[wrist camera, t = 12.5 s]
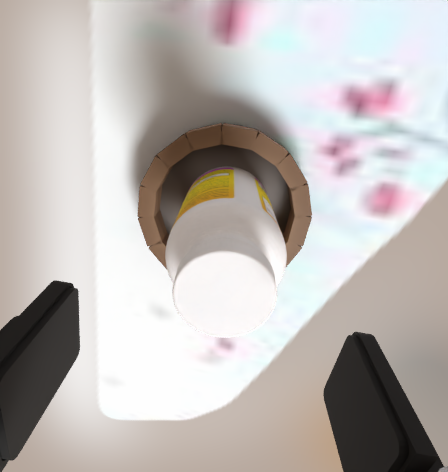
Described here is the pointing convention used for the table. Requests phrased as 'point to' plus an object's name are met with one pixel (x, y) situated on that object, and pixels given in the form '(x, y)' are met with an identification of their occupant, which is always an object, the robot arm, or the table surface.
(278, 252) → the supplement bottle
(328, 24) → the table surface
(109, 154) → the table surface
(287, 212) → the ring holder
